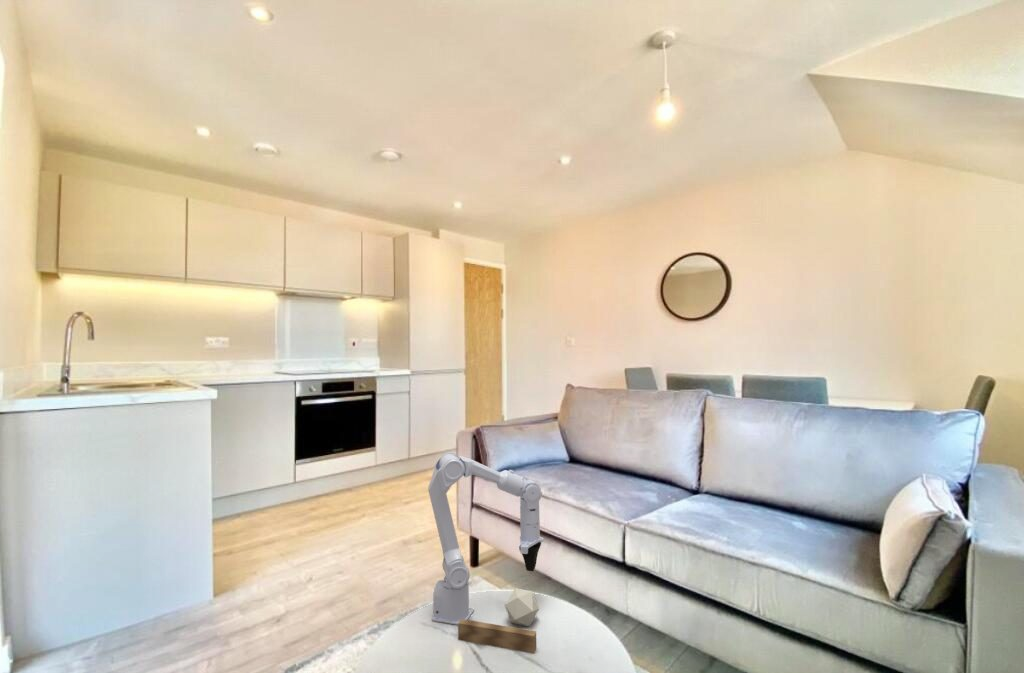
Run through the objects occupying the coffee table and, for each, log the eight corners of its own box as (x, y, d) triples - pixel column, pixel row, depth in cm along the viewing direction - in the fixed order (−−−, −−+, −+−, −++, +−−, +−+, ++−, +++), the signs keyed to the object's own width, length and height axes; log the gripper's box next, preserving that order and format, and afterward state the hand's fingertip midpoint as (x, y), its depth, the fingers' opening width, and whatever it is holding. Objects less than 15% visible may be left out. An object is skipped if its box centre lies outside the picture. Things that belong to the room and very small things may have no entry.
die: (543, 620, 119) (529, 583, 125) (542, 619, 112) (527, 580, 117) (516, 633, 118) (503, 595, 123) (513, 633, 111) (499, 593, 116)
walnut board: (458, 639, 110) (458, 623, 110) (461, 635, 112) (461, 618, 112) (534, 653, 104) (534, 636, 104) (536, 648, 106) (536, 631, 106)
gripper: (537, 532, 121) (538, 582, 120) (548, 515, 135) (549, 560, 133) (513, 529, 123) (513, 579, 122) (526, 513, 137) (527, 557, 136)
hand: (530, 569), depth 128 cm, fingers closed
